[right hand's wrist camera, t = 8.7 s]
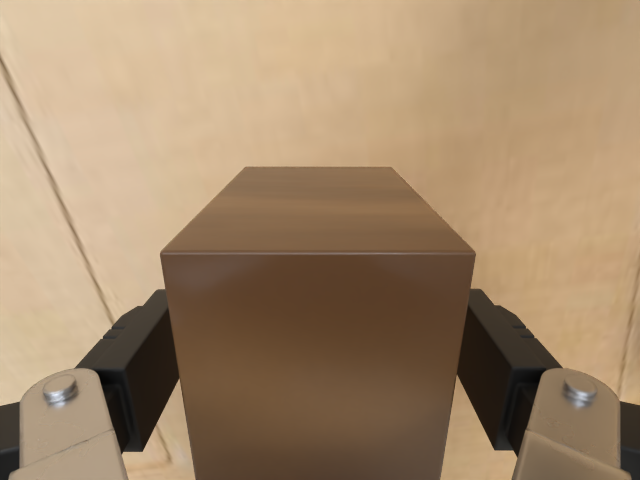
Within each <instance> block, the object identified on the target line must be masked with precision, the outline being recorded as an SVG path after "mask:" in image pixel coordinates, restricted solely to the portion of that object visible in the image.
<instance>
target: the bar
mask: <svg viewBox="0 0 640 480" xmlns="http://www.w3.org/2000/svg"><path fill="white" fill-rule="evenodd" d="M475 256H476V254H475V251H474V250H473V249H472V248H471V247H470V246H469V245H468V244H467V243H466V242H465V241H464V240H463V239H462V238H461V237H460V236H459V235H458V234H457V233H456V232H455V231H454V230H453V229H452V228H451V227H450V226H449V225H448V224H447V223H446V222H445V221H444V220H443V219H442V218H441V217H440V216H439V215H438V214H437V213H436V212H435V211H434V210H433V209H432V208H431V207H430V206H429V205H428V204H427V203H426V202H425V201H424V200H423V199H422V198H421V197H420V196H419V195H418V194H417V193H416V192H415V191H414V190H413V189H412V188H411V187H410V186H409V185H408V184H407V183H406V182H405V180H404V179H403V178H402V177H401V176H400V175H399V174H398V173H397V172H396V171H395V170H394V169H393V168H391V167H245V168H244V169H243V170H242V171H241V172H240V173H239V174H238V175H237V176H236V177H235V178H234V179H233V180H232V181H231V182H230V183H229V184H228V185H227V186H226V187H225V188H224V189H223V190H222V191H221V192H220V193H219V194H218V195H217V196H216V197H215V198H214V199H213V200H212V201H211V202H210V203H209V204H208V205H207V206H206V207H205V208H204V209H203V210H202V211H201V212H200V213H199V214H198V215H197V216H196V217H195V218H194V219H193V220H192V221H191V222H190V223H189V224H188V225H187V226H186V227H185V228H184V229H183V230H182V231H181V232H180V233H179V234H178V235H177V236H176V237H175V238H174V239H173V240H172V241H171V242H170V243H169V244H168V245H167V246H166V247H165V248H164V249H163V250H162V251H161V253H160V257H161V264H162V270H163V276H164V283H165V289H166V295H167V301H168V308H169V314H170V320H171V327H172V333H173V339H174V346H175V352H176V358H177V364H178V371H179V377H180V383H181V390H182V396H183V402H184V409H185V415H186V421H187V427H188V434H189V440H190V446H191V453H192V459H193V465H194V472H195V478H196V480H440V477H441V470H442V464H443V458H444V451H445V445H446V439H447V432H448V426H449V420H450V413H451V407H452V401H453V395H454V388H455V382H456V376H457V369H458V363H459V357H460V350H461V344H462V338H463V331H464V325H465V319H466V313H467V306H468V300H469V294H470V287H471V281H472V275H473V268H474V262H475Z"/></svg>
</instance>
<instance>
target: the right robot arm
mask: <svg viewBox="0 0 640 480" xmlns="http://www.w3.org/2000/svg"><path fill="white" fill-rule="evenodd" d="M457 375H458V377H459V379H460V381H461V383H462V385H463V387H464V389H465V391H466V393H467V395H468V397H469V399H470V401H471V403H472V405H473V408H474V410H475V412H476V414H477V416H478V418H479V420H480V422H481V424H482V426H483V428H484V430H485V432H486V434H487V436H488V438H489V440H490V442H491V444H492V446H493V448H494V450H514V452H515V454H516V456H517V462H516V466H515V469H514V473H513V476H512V480H640V405H635V404H630V403H626V402H621V401H619V399H618V397H617V396H616V394H615V393H614V392H613V391H612V390H611V389H610V388H609V387H608V386H607V385H605V384H604V383H602V382H601V381H599V380H598V379H596V378H594V377H592V376H590V375H588V374H585V373H582V372H579V371H576V370H571V369H565V368H563V367H562V366H561V365H560V364H559V363H558V362H557V361H556V360H555V359H554V357H553V356H552V355H551V354H550V353H549V352H548V351H547V350H546V348H545V347H544V346H543V345H542V344H541V343H540V342H539V341H538V339H537V338H534V335H533V334H532V333H531V332H530V331H529V329H526V326H525V325H524V324H523V323H522V322H521V320H520V319H519V318H518V317H517V316H516V315H515V314H513V313H511V312H510V311H508V310H507V309H505V308H503V307H502V306H500V305H494V304H493V303H492V302H491V300H490V299H489V298H488V297H487V296H486V294H485V293H484V292H483V291H482V290H481V289H470V294H469V300H468V306H467V313H466V319H465V325H464V331H463V338H462V344H461V350H460V357H459V363H458V369H457ZM179 378H180V377H179V371H178V364H177V358H176V352H175V346H174V339H173V333H172V327H171V320H170V314H169V308H168V301H167V295H166V289H158V290H156V291H155V292H154V293H153V295H152V296H151V297H150V298H149V299H148V301H147V302H146V303H145V304H144V305H143V306H137V307H136V308H134V309H132V310H131V311H129V312H127V313H126V314H124V315H122V316H121V317H120V318H119V319H118V321H117V322H116V323H115V324H114V325H113V326H112V329H109V331H108V332H107V333H106V334H105V335H104V336H103V339H100V341H99V342H98V343H97V344H96V345H95V346H94V347H93V348H92V349H91V351H90V352H89V353H88V354H87V355H86V356H85V357H84V358H83V359H82V361H81V362H80V363H79V364H78V365H77V366H76V367H75V368H74V369H69V370H64V371H61V372H58V373H55V374H52V375H50V376H48V377H46V378H44V379H42V380H41V381H39V382H38V383H36V384H35V385H33V386H32V387H31V388H30V389H29V390H28V391H27V392H26V393H25V394H24V396H23V397H22V399H21V401H20V402H17V403H12V404H7V405H3V406H0V480H128V476H127V473H126V469H125V466H124V462H123V458H122V453H123V452H143V450H144V448H145V446H146V444H147V442H148V440H149V438H150V436H151V434H152V432H153V430H154V428H155V426H156V424H157V422H158V420H159V418H160V416H161V414H162V412H163V410H164V408H165V406H166V404H167V402H168V400H169V398H170V396H171V394H172V392H173V390H174V388H175V386H176V384H177V382H178V380H179Z"/></svg>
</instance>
